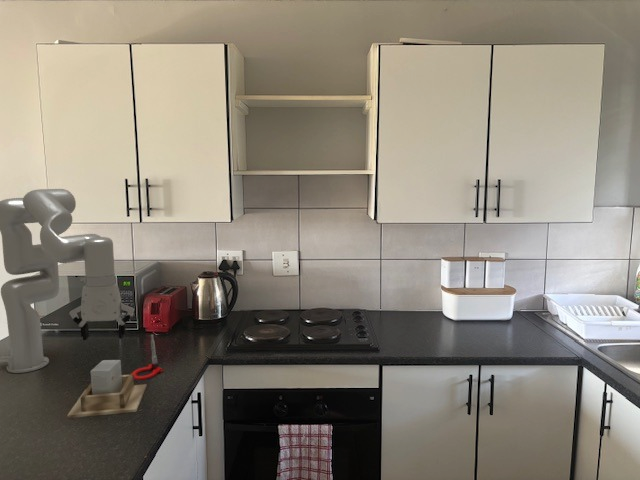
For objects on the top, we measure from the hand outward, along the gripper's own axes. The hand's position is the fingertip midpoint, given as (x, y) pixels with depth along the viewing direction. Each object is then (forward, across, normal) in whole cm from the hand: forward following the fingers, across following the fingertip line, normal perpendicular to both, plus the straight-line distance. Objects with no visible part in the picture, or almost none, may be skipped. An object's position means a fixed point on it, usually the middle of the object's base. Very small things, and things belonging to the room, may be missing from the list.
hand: (103, 337), depth 134 cm
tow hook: (+20, +8, +17) cm, 28 cm away
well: (+20, +1, -1) cm, 20 cm away
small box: (+19, 0, -1) cm, 19 cm away
